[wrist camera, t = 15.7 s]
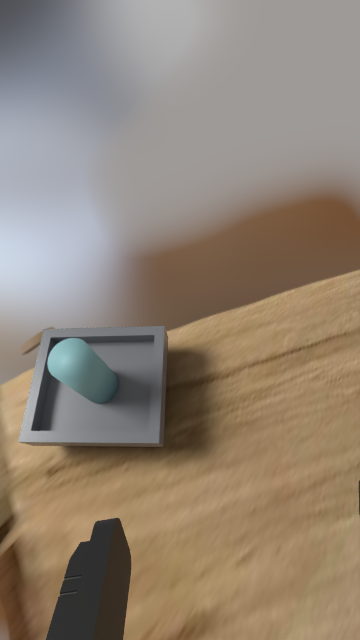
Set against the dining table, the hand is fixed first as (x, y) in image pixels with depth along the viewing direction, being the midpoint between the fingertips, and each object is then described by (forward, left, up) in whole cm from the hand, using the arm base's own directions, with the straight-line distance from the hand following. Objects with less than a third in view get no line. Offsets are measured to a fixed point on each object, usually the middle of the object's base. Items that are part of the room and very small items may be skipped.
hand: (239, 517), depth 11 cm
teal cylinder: (+15, -12, -27) cm, 33 cm away
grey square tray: (+15, -12, -31) cm, 37 cm away
